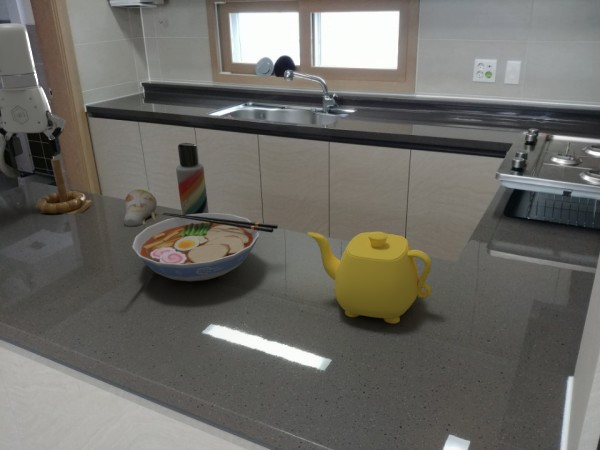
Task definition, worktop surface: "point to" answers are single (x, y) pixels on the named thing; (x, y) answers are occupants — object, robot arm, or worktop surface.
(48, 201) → the ring
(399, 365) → the worktop surface
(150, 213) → the white round figurine
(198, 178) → the lotion bottle
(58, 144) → the robot arm
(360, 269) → the teapot
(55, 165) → the peg stand
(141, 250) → the ramen bowl
